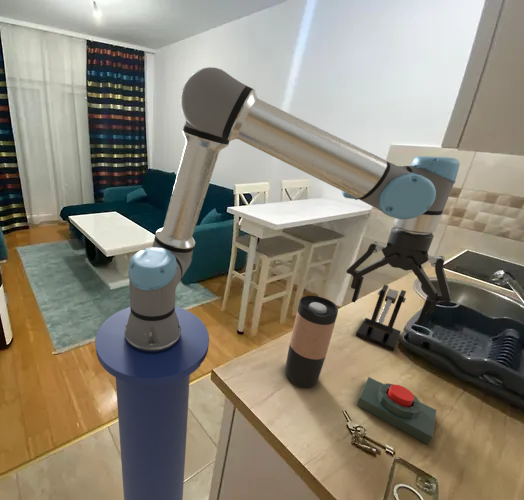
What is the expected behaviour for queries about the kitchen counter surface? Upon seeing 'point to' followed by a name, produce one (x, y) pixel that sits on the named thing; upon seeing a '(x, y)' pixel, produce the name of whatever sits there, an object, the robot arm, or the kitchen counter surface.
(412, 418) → the button box
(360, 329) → the bracket
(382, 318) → the lever
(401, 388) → the button
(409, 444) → the kitchen counter surface
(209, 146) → the robot arm
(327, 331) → the travel mug
